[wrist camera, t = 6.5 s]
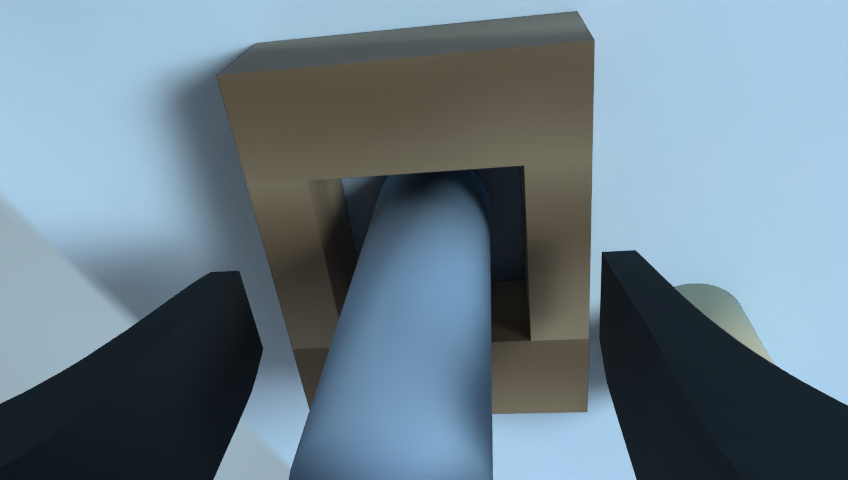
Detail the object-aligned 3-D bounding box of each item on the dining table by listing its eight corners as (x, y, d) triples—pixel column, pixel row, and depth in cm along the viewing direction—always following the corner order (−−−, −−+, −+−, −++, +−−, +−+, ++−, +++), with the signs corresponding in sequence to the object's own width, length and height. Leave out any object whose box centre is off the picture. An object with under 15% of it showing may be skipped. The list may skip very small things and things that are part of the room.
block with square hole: (575, 345, 18) (587, 411, 16) (331, 353, 19) (311, 417, 17) (577, 11, 13) (594, 40, 11) (256, 43, 14) (216, 75, 12)
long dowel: (492, 252, 17) (497, 560, 9) (386, 257, 17) (310, 557, 10) (486, 152, 15) (486, 421, 8) (370, 159, 16) (268, 425, 8)
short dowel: (736, 364, 18) (796, 484, 14) (632, 367, 18) (666, 485, 15) (750, 281, 16) (820, 392, 13) (637, 286, 17) (676, 395, 13)
